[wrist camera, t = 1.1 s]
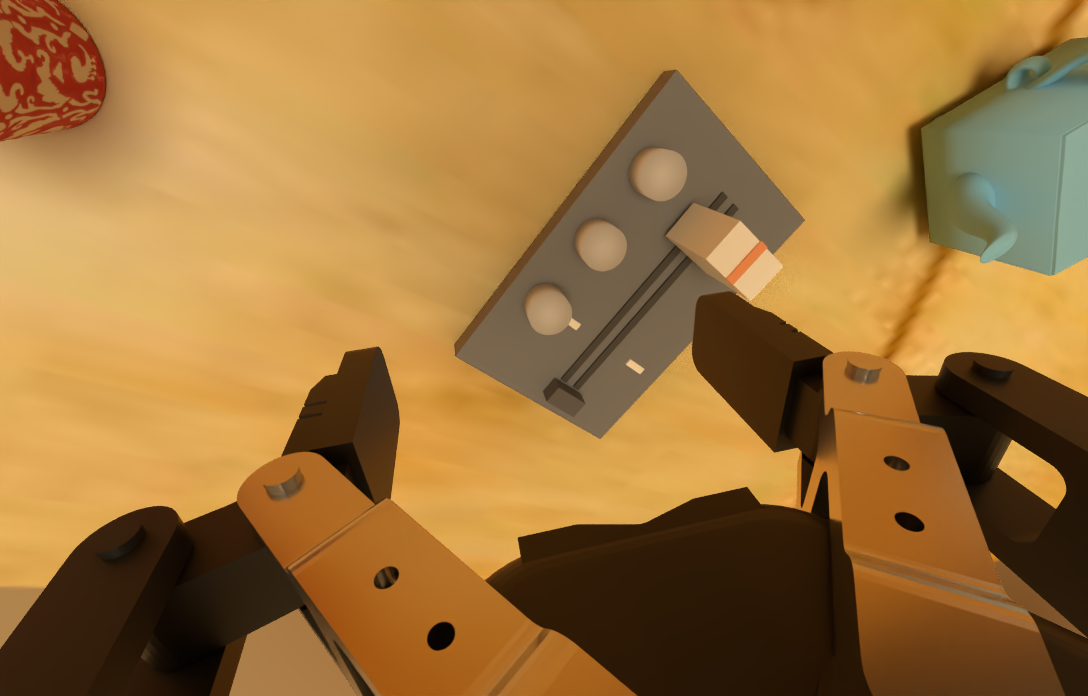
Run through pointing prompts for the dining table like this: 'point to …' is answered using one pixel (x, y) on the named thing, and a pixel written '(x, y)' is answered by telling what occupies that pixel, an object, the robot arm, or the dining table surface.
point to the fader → (725, 250)
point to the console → (622, 263)
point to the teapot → (1015, 166)
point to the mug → (45, 69)
